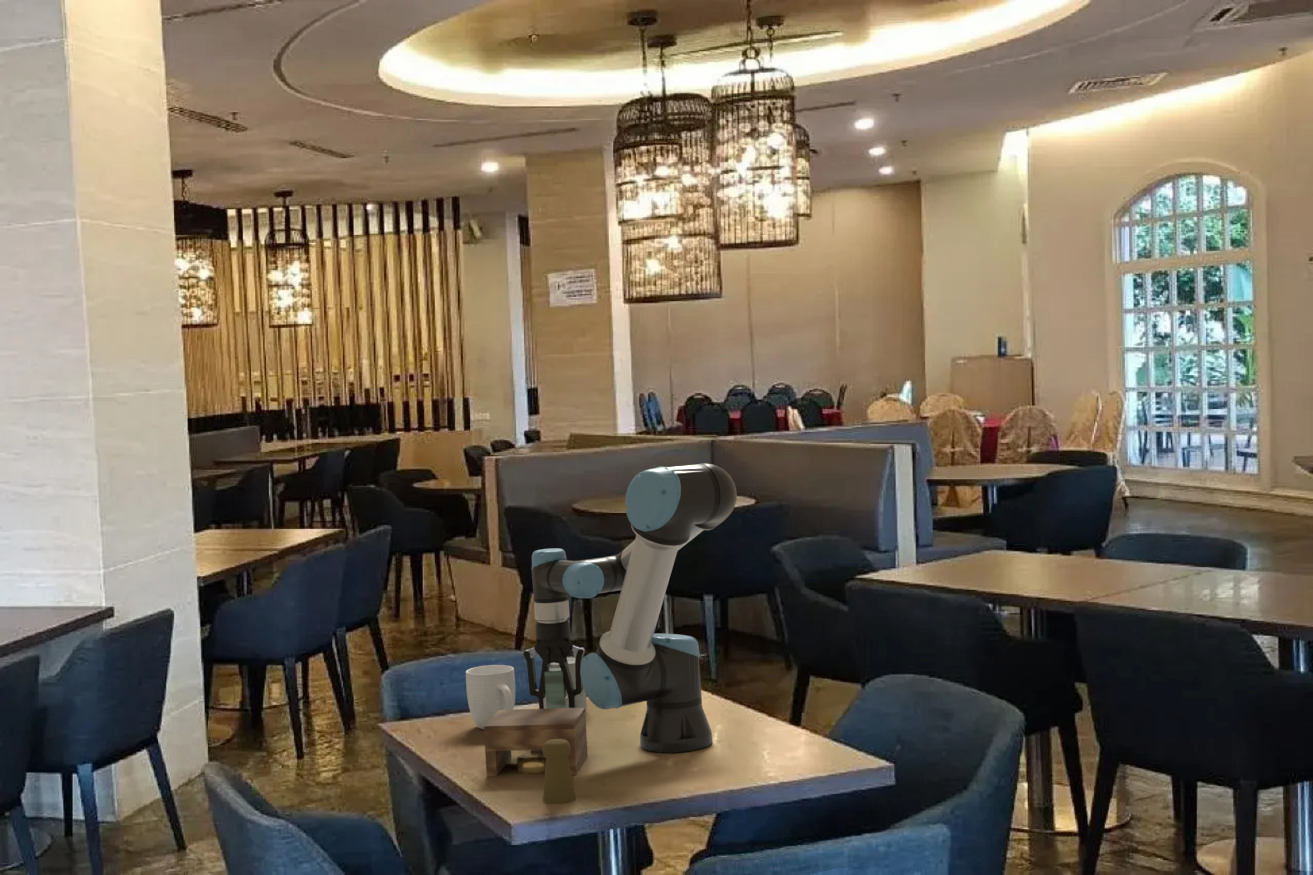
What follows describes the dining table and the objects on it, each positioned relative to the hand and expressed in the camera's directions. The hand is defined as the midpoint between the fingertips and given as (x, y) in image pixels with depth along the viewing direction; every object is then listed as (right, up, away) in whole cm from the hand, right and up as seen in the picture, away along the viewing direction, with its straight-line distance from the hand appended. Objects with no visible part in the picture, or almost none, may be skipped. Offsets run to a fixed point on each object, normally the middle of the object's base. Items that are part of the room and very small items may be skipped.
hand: (558, 726), depth 315 cm
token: (-3, -4, -25) cm, 26 cm away
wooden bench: (-3, -3, -23) cm, 23 cm away
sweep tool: (-1, -2, -10) cm, 10 cm away
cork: (+3, -4, -47) cm, 47 cm away
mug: (-15, -3, +12) cm, 20 cm away
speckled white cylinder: (0, -2, +24) cm, 24 cm away
